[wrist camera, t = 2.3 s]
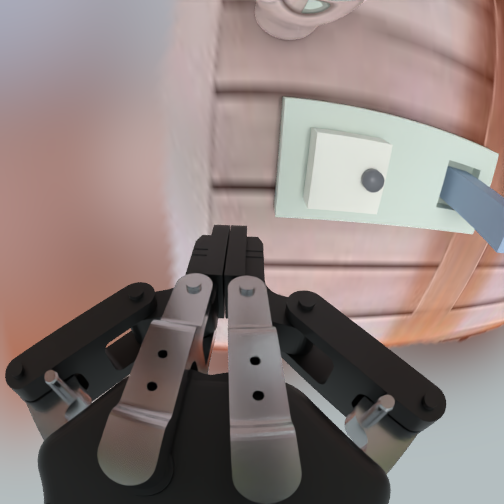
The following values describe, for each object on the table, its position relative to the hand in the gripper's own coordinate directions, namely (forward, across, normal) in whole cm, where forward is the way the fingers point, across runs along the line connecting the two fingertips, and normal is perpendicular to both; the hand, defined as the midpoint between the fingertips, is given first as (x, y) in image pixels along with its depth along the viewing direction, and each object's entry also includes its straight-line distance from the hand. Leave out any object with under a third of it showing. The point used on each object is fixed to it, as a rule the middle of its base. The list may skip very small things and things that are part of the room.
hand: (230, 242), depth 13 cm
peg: (+16, -26, 0) cm, 30 cm away
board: (+17, -18, 0) cm, 24 cm away
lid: (+14, -10, 0) cm, 17 cm away
